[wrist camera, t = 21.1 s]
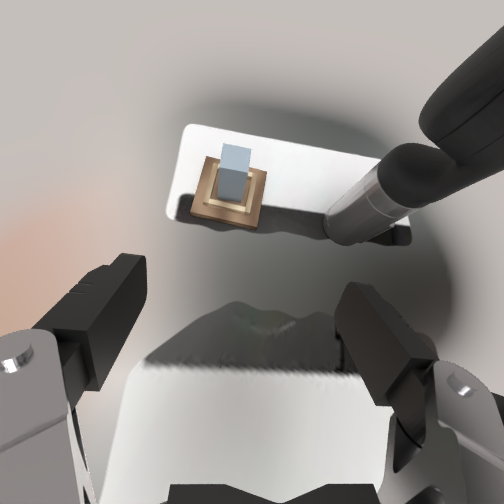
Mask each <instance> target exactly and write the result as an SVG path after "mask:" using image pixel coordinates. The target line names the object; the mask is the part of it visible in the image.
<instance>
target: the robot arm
mask: <svg viewBox="0 0 504 504" xmlns="http://www.w3.org/2000/svg"><path fill="white" fill-rule="evenodd" d="M419 126H420V129H421V130H422V132H423V133H424V134H425V136H426V137H427V138H428V139H429V140H431V141H432V142H433V143H435V145H436V146H438V147H439V148H440V149H437V148H433V147H429V146H426V145H422V144H418V143H406V144H402V145H399V146H397V147H396V148H394V149H393V150H392V151H391V152H390V153H388V154H387V155H386V156H385V157H384V158H383V159H382V160H381V161H380V162H379V163H378V164H377V165H376V166H375V167H374V168H372V169H371V170H370V171H369V172H368V173H367V174H366V175H365V176H364V177H363V178H362V179H361V180H360V181H359V182H358V183H357V184H356V185H354V186H353V187H352V188H351V189H350V190H349V191H348V192H347V193H346V194H345V195H344V196H343V197H342V198H341V199H340V200H339V201H337V202H336V203H335V204H334V205H333V206H332V207H331V208H330V209H329V210H328V211H327V212H326V213H325V215H324V218H323V227H324V230H325V232H326V234H327V235H328V237H329V238H330V239H331V240H332V241H334V242H335V243H337V244H339V245H343V246H350V245H353V244H355V243H363V242H365V241H367V240H369V239H371V238H373V237H375V236H376V235H378V234H380V233H382V232H384V231H386V230H388V229H390V228H392V227H393V226H394V225H395V222H396V221H398V220H400V219H402V218H404V217H406V216H407V215H409V214H411V213H413V212H415V211H417V210H419V209H421V208H422V207H424V206H426V205H428V204H429V203H433V202H436V201H438V200H441V199H443V198H445V197H447V196H449V195H451V194H453V193H455V192H457V191H459V190H461V189H463V188H465V187H468V186H470V185H472V184H474V183H476V182H478V181H480V180H482V179H485V178H487V177H489V176H491V175H494V174H496V173H498V172H500V171H502V170H504V26H503V27H502V28H501V29H499V30H498V31H497V32H496V33H495V34H494V35H493V36H492V37H491V38H490V39H489V40H487V41H486V42H485V43H484V44H483V45H482V46H481V47H480V48H478V49H477V50H476V51H475V52H474V53H473V54H472V55H471V56H470V57H469V58H467V59H466V60H465V61H464V62H463V63H462V64H461V65H460V66H459V67H458V68H457V69H456V70H455V71H454V72H453V73H452V74H451V75H450V76H448V78H447V79H446V80H445V81H444V82H443V83H442V84H441V85H440V86H439V87H438V88H437V89H436V91H435V92H434V93H433V94H432V96H431V97H430V98H429V100H428V101H427V102H426V104H425V106H424V107H423V109H422V111H421V113H420V116H419ZM146 296H147V268H146V258H145V256H142V255H133V254H126V253H121V254H120V255H119V256H118V257H117V258H116V259H115V260H114V262H113V263H112V264H111V265H110V266H109V265H102V266H100V267H98V268H96V269H94V270H92V271H90V272H88V273H87V274H86V275H85V276H84V277H83V278H82V279H81V280H80V281H79V282H78V284H76V285H75V286H74V287H73V288H72V289H71V290H70V291H69V293H67V294H66V295H65V296H64V297H63V298H62V299H61V300H60V301H59V302H58V303H57V304H56V305H55V306H54V307H52V309H51V310H50V311H48V312H47V313H46V314H45V315H44V316H43V318H41V319H40V320H39V321H38V322H37V323H36V324H35V325H34V326H33V327H32V328H31V329H27V330H21V331H16V332H13V333H10V334H7V335H4V336H2V337H0V504H97V503H96V499H95V495H94V491H93V487H92V482H91V478H90V473H89V469H88V463H87V459H86V454H85V448H84V443H83V438H82V433H81V428H80V423H79V418H78V413H77V408H76V405H77V402H78V401H79V399H80V398H81V396H82V394H83V392H84V391H100V389H101V387H102V385H103V384H104V381H105V380H106V378H107V376H108V374H109V372H110V370H111V368H112V366H113V364H114V362H115V360H116V358H117V357H118V354H119V353H120V351H121V349H122V347H123V345H124V343H125V341H126V339H127V337H128V335H129V333H130V332H131V330H132V328H133V326H134V324H135V322H136V320H137V318H138V316H139V314H140V312H141V310H142V308H143V306H144V304H145V301H146ZM334 320H335V324H336V327H337V329H338V331H339V333H340V335H341V337H342V339H343V341H344V343H345V345H346V347H347V349H348V351H349V353H350V355H351V357H352V359H353V361H354V363H355V365H356V367H357V369H358V371H359V373H360V375H361V377H362V379H363V381H364V383H365V385H366V387H367V389H368V391H369V393H370V395H371V397H372V399H373V401H374V403H375V405H376V406H392V408H393V410H394V413H393V414H392V415H391V417H390V423H389V433H388V443H387V453H386V463H385V472H384V478H383V482H382V485H381V487H380V489H379V491H378V493H376V490H375V488H374V485H373V484H326V485H324V486H322V487H319V488H317V489H315V490H312V491H310V492H308V493H306V494H303V495H301V496H299V497H296V498H294V499H292V500H289V501H287V502H284V503H275V502H272V501H269V500H267V499H264V498H261V497H258V496H256V495H253V494H250V493H247V492H245V491H242V490H239V489H236V488H234V487H231V486H228V485H226V484H171V485H170V490H169V495H168V501H166V502H163V503H160V504H504V397H503V396H500V395H498V394H495V393H492V392H490V391H489V390H488V388H487V387H486V386H485V385H484V384H483V383H482V382H481V381H480V380H479V379H478V378H476V376H474V375H473V374H472V373H470V372H469V371H467V370H465V369H464V368H462V367H460V366H458V365H456V364H454V363H451V362H448V361H440V360H439V359H438V357H437V356H436V355H435V354H434V353H433V352H432V351H431V349H430V348H429V347H428V346H427V345H426V344H425V342H424V341H423V340H422V339H421V338H420V337H419V336H418V334H417V333H416V332H415V331H414V330H413V329H412V328H410V327H409V324H408V323H407V322H406V321H405V320H404V319H402V316H401V315H400V314H399V313H398V311H397V310H396V309H395V308H394V307H393V306H392V305H391V304H389V303H388V302H387V301H385V300H384V299H383V298H382V297H381V296H380V295H379V294H378V292H377V291H376V290H375V289H374V288H373V286H372V285H370V284H366V283H358V282H350V283H348V284H347V286H346V288H345V290H344V292H343V295H342V297H341V299H340V301H339V303H338V305H337V308H336V310H335V315H334Z"/></svg>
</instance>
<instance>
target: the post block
mask: <svg viewBox="0 0 504 504" xmlns="http://www.w3.org/2000/svg"><path fill="white" fill-rule="evenodd" d="M250 155H251V149H249V148H244V147H239V146H234V145H229V144H224V143H223V148H222V154H221V160H220V166H219V182H218V199H220V200H226V201H232V202H238V203H241V200H242V196H243V192H244V188H245V184H246V180H247V176H248V172H249V163H250Z"/></svg>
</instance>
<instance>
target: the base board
mask: <svg viewBox="0 0 504 504" xmlns="http://www.w3.org/2000/svg"><path fill="white" fill-rule="evenodd" d="M219 166H220V159H216V158H212V157H208V156H206V159H205V162H204V166H203V169H202V173H201V176H200V180H199V183H198V187H197V190H196V194H195V197H194V201H193V204H192V208H191V211H190V212H191V215H193V216H197V217H201V218H206V219H210V220H214V221H219V222H223V223H227V224H232V225H236V226H241V227H245V228H249V229H254V230H256V228H257V224H258V219H259V213H260V208H261V202H262V197H263V191H264V186H265V181H266V175H267V172H266V171H262V170H258V169H254V168H250V167H249V172H248V176H247V180H246V184H245V188H244V192H243V196H242V200H241V203H238V202H232V201H226V200H220V199H218V182H219Z"/></svg>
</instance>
